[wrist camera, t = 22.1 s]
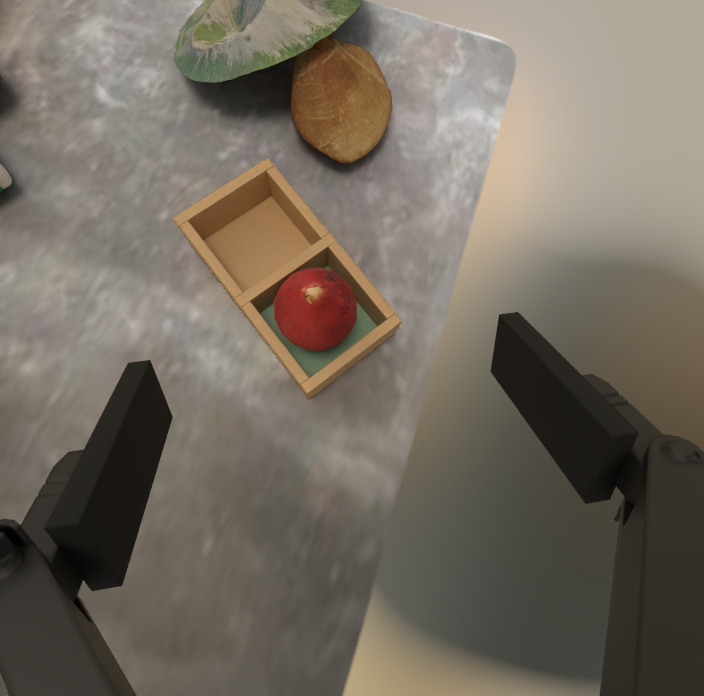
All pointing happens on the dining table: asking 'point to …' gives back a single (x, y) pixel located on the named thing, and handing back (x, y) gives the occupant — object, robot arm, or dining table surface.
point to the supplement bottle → (4, 178)
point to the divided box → (281, 268)
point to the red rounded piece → (315, 309)
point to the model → (253, 34)
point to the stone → (340, 99)
